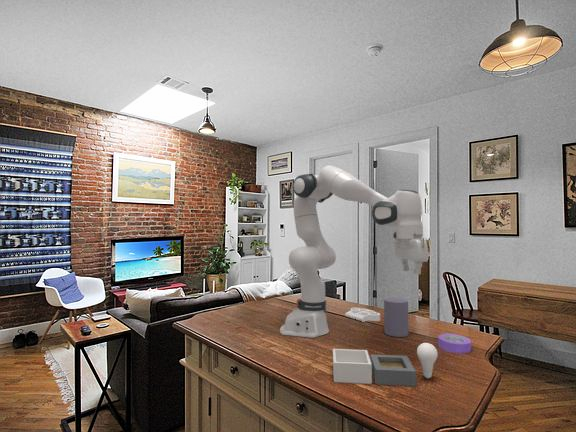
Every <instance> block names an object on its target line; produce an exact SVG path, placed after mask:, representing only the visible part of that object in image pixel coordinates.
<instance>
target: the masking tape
mask: <svg viewBox="0 0 576 432" xmlns="http://www.w3.org/2000/svg"><path fill="white" fill-rule="evenodd" d="M437 338H438V339H437V340H438V341H437V342H438V343H437V344H438V348H440V349H441V350H443V351H444V352H450V353H453V354H468V353H470V352H472V340H471V339H470V338H468V337H466V336H463V335H461V334H455V333H442V334H440V335H438V337H437Z"/></svg>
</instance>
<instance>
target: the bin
mask: <svg viewBox="0 0 576 432" xmlns="http://www.w3.org/2000/svg"><path fill="white" fill-rule="evenodd" d="M332 373H333V382H334V383H343V384H344V383H345V384H346V383H347V384H365V385H366V384H368V385H371V384H372V383H373V382H372V381H373V377H372V376H373V374H372V364H371V357H370V355H369V351H368V350H367V349H348V348H347V349H346V348H332Z"/></svg>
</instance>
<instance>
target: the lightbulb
mask: <svg viewBox="0 0 576 432" xmlns="http://www.w3.org/2000/svg"><path fill="white" fill-rule="evenodd" d="M416 355H417V357H418V359H419V361H420V363H421V369H422V375H423V376H424V378H426V379H430V378H432V377H433V376H432V375H433V369H434V364H435V363H436V361H437V359H438V355H439V354H438V350H437V348H436V347H435V345H433V344H431V342H430V343H429V342H422V343H421V344H419V345H418V346H417V350H416Z"/></svg>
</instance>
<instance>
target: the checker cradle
mask: <svg viewBox="0 0 576 432" xmlns="http://www.w3.org/2000/svg"><path fill="white" fill-rule="evenodd" d="M370 361H371V364H372V376H373V377H372V378H373V380H374V383H375V385H381V386H403V387H417V370H416V369H415V368H414V367H415V366H413V364H412V362H411V361H410V359H409V357H408V355H397V354H395V355H393V354H392V355H391V354H390V355H389V354H370ZM379 362H391V363H401V364H402V366H403V368H390V367H381V365H380V363H379Z"/></svg>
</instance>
